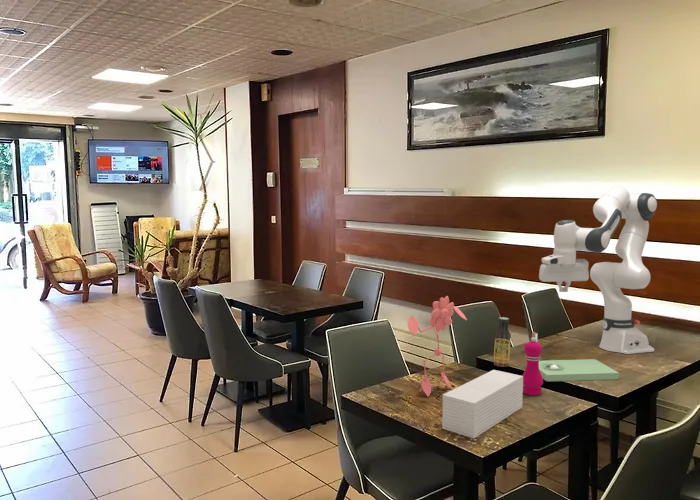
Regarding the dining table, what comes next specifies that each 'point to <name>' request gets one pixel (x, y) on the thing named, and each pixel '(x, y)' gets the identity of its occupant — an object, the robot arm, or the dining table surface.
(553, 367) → the ball
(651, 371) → the dining table surface
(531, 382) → the pepper mill
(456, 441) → the dining table surface
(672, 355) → the dining table surface
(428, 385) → the pink humanoid figure
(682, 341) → the dining table surface
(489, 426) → the stack of papers
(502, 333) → the sauce bottle
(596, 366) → the mat
